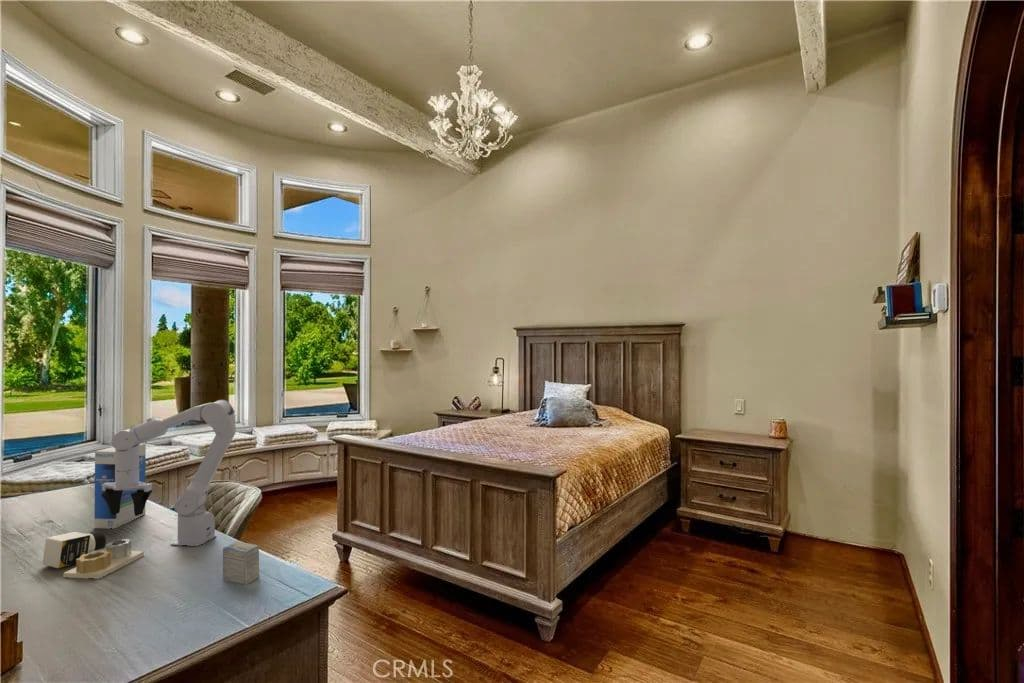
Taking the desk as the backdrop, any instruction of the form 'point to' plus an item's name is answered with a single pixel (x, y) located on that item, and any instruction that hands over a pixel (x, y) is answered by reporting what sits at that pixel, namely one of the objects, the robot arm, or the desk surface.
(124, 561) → the gear board
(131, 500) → the string lights box
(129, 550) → the steel gear
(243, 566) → the beige wooden block
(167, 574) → the desk surface
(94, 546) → the medicine bottle
